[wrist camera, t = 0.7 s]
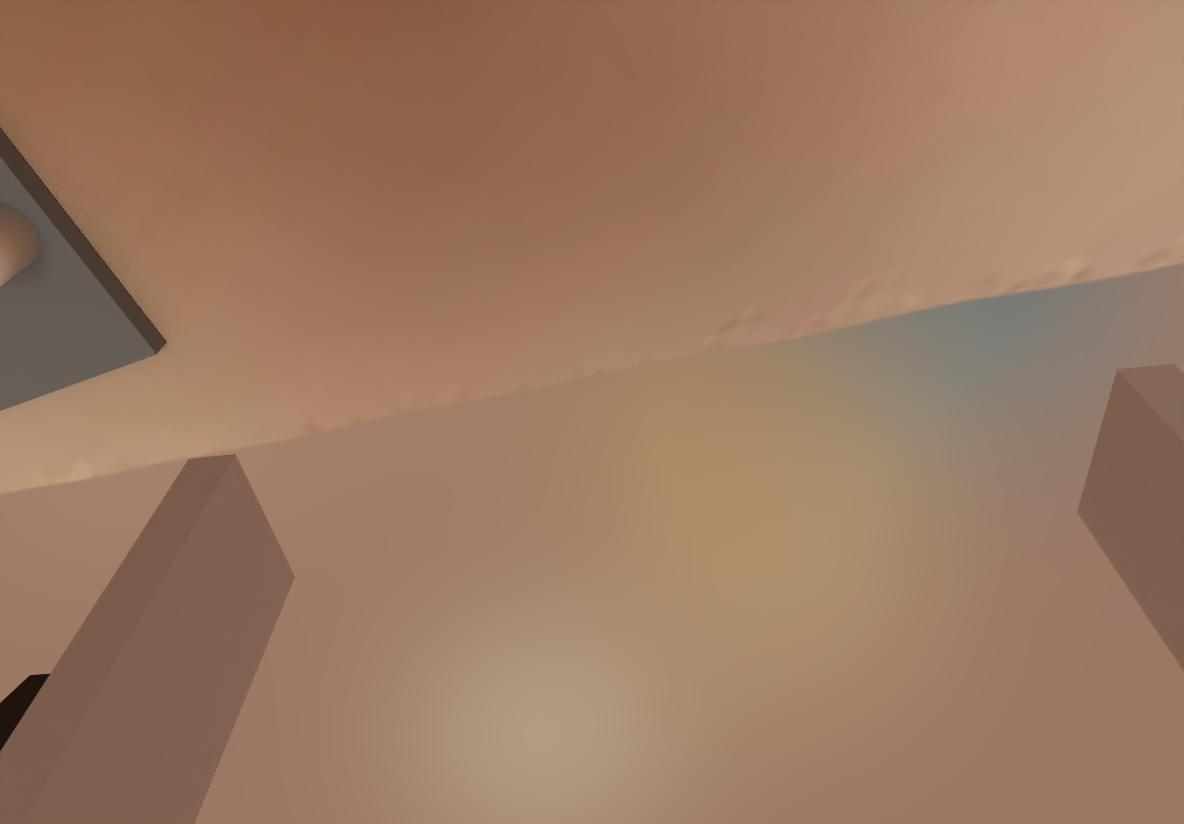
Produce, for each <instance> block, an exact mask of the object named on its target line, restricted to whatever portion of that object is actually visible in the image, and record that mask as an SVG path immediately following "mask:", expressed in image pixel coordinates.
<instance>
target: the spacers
mask: <svg viewBox="0 0 1184 824" xmlns="http://www.w3.org/2000/svg"><path fill="white" fill-rule="evenodd" d="M40 252H41V239H40V236H39V233H38V231H37V229H36V228H35V226H34V225H33V223H32V222H31V221H30V220H29V219H28V218H27V217H26V216H25V215H24V214H22V213H21V212H20V211H18V210H17V209H15V208H13V207H11V206H9V205H7V204H3V203H0V287H1V286H2V285H3V284H4V283H6V282H7V281H8V280H10V279H11V278H12V277H14V276H15V275H16V274H17V273H19V272H20V271H21V270H23V269H24V268H25V267H27V266H28V265H29V264H30V263H32V262H33V261H34V260H36V259H37V257H38V256H39V254H40Z"/></svg>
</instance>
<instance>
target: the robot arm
mask: <svg viewBox="0 0 1184 824" xmlns="http://www.w3.org/2000/svg"><path fill="white" fill-rule="evenodd" d="M1077 513H1078V514H1079V516H1080V517H1081V519H1082V520H1083V522H1084V523H1085V525H1086V526H1087V528H1088V529H1089V531H1090V532H1091V534H1092V535H1093V537H1094V538H1095V540H1096V541H1097V543H1098V544H1099V546H1100V547H1101V549H1102V550H1103V551H1104V553H1105V555H1106V556H1107V558H1108V559H1109V561H1110V562H1111V564H1112V565H1113V567H1114V568H1115V570H1116V571H1117V573H1118V574H1119V575H1120V577H1121V578H1122V580H1123V581H1124V583H1125V584H1126V586H1127V587H1128V589H1129V590H1130V592H1131V593H1132V595H1133V596H1134V598H1135V599H1136V601H1137V602H1138V604H1139V605H1140V607H1141V608H1142V610H1143V611H1144V613H1145V614H1146V616H1147V617H1148V619H1149V620H1150V622H1151V623H1152V625H1153V626H1154V628H1155V629H1156V630H1157V632H1158V634H1159V635H1160V637H1161V638H1162V640H1163V641H1164V643H1165V644H1166V645H1167V647H1168V649H1169V650H1170V651H1171V653H1172V655H1173V656H1174V657H1175V659H1176V661H1177V662H1178V663H1179V665H1180V666H1181V668H1182V669H1183V671H1184V373H1183V372H1182V371H1181V370H1180V369H1179V368H1178V367H1177V366H1175V364H1167V365H1157V366H1146V367H1136V368H1125V369H1117V372H1116V375H1115V379H1114V383H1113V386H1112V390H1111V393H1110V397H1109V400H1108V404H1107V407H1106V411H1105V414H1104V418H1103V422H1102V425H1101V429H1100V432H1099V436H1098V440H1097V443H1096V446H1095V450H1094V453H1093V457H1092V461H1091V464H1090V468H1089V471H1088V475H1087V479H1086V482H1085V486H1084V490H1083V493H1082V496H1081V500H1080V503H1079V507H1078V510H1077ZM294 577H295V576H294V574H293V572H292V570H291V568H290V566H289V563H288V561H287V559H286V557H285V555H284V553H283V551H282V549H281V547H280V545H279V543H278V541H277V539H276V537H275V535H274V532H273V531H272V529H271V526H270V524H269V522H268V520H267V518H266V516H265V514H264V512H263V510H262V508H261V506H260V504H259V502H258V499H257V497H256V495H255V493H254V491H253V489H252V487H251V485H250V483H249V481H248V479H247V477H246V475H245V473H244V471H243V469H242V466H241V464H240V462H239V460H238V458H237V456H236V455H235V454H234V455H223V456H213V457H202V458H192V459H188V461H187V463H186V464H185V466H184V467H183V469H182V470H181V472H180V473H179V475H178V477H177V478H176V480H175V481H174V483H173V484H172V486H171V487H170V489H169V491H168V492H167V494H166V495H165V497H164V498H163V500H162V501H161V503H160V504H159V506H158V508H157V509H156V511H155V512H154V514H153V515H152V517H151V518H150V520H149V522H148V523H147V525H146V526H145V528H144V529H143V531H142V532H141V534H140V536H139V537H138V539H137V540H136V542H135V543H134V545H133V546H132V548H131V549H130V551H129V553H128V554H127V556H126V558H125V559H124V560H123V562H122V563H121V565H120V567H119V568H118V570H117V571H116V573H115V574H114V576H113V578H112V579H111V581H110V582H109V584H108V585H107V587H106V588H105V590H104V591H103V593H102V594H101V596H100V598H99V599H98V601H97V602H96V604H95V605H94V607H93V609H92V610H91V612H90V613H89V615H88V616H87V618H86V619H85V621H84V622H83V624H82V625H81V627H80V629H79V630H78V632H77V633H76V635H75V636H74V638H73V640H72V641H71V643H70V644H69V646H68V647H67V649H66V650H65V652H64V653H63V655H62V657H61V658H60V660H59V661H58V663H57V664H56V666H55V667H54V669H53V671H52V672H51V674H40V675H30V676H29V677H28V678H27V679H25V681H23V682H22V683H21V684H20V685H19V686H18V687H17V688H16V689H15V690H14V691H13V692H11V693H10V694H9V695H8V696H7V697H6V698H5V699H4V700H3V701H2V702H1V703H0V824H194V823H195V821H196V818H197V816H198V814H199V811H200V809H201V806H202V804H203V801H204V799H205V796H206V794H207V791H208V789H209V787H210V784H211V781H212V779H213V777H214V774H215V772H216V769H217V767H218V764H219V762H220V759H221V757H222V754H223V752H224V750H225V747H226V745H227V742H228V740H229V737H230V735H231V732H232V730H233V728H234V725H235V723H236V720H237V718H238V715H239V713H240V710H241V708H242V705H243V703H244V700H245V698H246V696H247V693H248V691H249V688H250V686H251V683H252V681H253V678H254V676H255V673H256V671H257V668H258V666H259V664H260V661H261V659H262V656H263V654H264V651H265V649H266V646H267V644H268V641H269V639H270V636H271V634H272V631H273V629H274V626H275V624H276V622H277V619H278V617H279V614H280V612H281V609H282V607H283V605H284V602H285V600H286V597H287V595H288V592H289V590H290V587H291V585H292V582H293V580H294Z"/></svg>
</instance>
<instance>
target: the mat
mask: <svg viewBox="0 0 1184 824" xmlns="http://www.w3.org/2000/svg"><path fill="white" fill-rule="evenodd" d="M0 203H3V204H7V205H9V206H11V207H13V208H15V209H17V210H18V211H20V212H21V213H22V214H24V215H25V216H26V217H27V218H28V219H29V220H30V221H31V222H32V223H33V225H34V226H35V228H36V229H37V231H38V233H39V236H40V239H41V252H40V254H39V256H38V257H37V259H36V260H34V261H33V262H32V263H30V264H29V265H28V266H27V267H25V268H24V269H23V270H21V271H20V272H19V273H17V274H16V275H15V276H14V277H12V278H11V279H10V280H8V281H7V282H6V283H4V284H3V285H2V286H1V287H0V411H1V410H4V409H6V408H9V407H12V406H15V405H17V404H20V403H23V402H26V401H29V400H31V399H34V398H37V397H40V396H42V395H45V394H48V393H51V392H53V391H56V390H59V389H62V388H64V387H67V386H70V385H73V384H76V383H78V382H81V381H84V380H87V379H89V378H92V377H95V376H98V375H100V374H103V373H106V372H109V371H111V370H114V369H117V368H120V367H123V366H125V365H128V364H131V363H134V362H136V361H139V360H142V359H145V358H147V357H150V356H153V355H156V354H157V353H158V352H159V351H160V349H161V348H162V347H163V346H164V345H165V343H166V341H165V340H164V339H163V337H162V336H161V335H160V333H159V332H158V331H157V330H156V328H155V327H154V326H153V324H152V323H151V322H150V321H149V319H148V318H147V317H146V315H145V314H144V313H143V312H142V310H141V309H140V308H139V306H138V305H137V304H136V303H135V301H134V300H133V299H132V297H131V296H130V295H129V294H128V292H127V291H126V290H125V288H124V287H123V286H122V285H121V283H120V282H119V281H118V279H117V278H116V277H115V276H114V274H113V273H112V272H111V270H110V269H109V268H108V267H107V265H106V264H105V263H104V261H103V260H102V259H101V258H100V256H99V255H98V254H97V252H96V251H95V250H94V248H93V247H92V246H91V245H90V243H89V242H88V241H87V239H86V238H85V237H84V236H83V234H82V233H81V232H80V230H79V229H78V228H77V227H76V225H75V224H74V223H73V221H72V220H71V219H70V218H69V216H68V215H67V214H66V212H65V211H64V210H63V209H62V207H61V206H60V205H59V203H58V202H57V201H56V200H55V198H54V197H53V196H52V194H51V193H50V192H49V191H48V189H47V188H46V187H45V185H44V184H43V183H42V182H41V180H40V179H39V178H38V176H37V175H36V174H35V173H34V171H33V170H32V169H31V167H30V166H29V165H28V163H27V162H26V161H25V160H24V158H23V157H22V156H21V154H20V153H19V152H18V151H17V149H16V148H15V147H14V145H13V144H12V143H11V142H10V140H9V139H8V138H7V136H6V135H5V134H4V133H3V131H2V130H1V129H0Z"/></svg>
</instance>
